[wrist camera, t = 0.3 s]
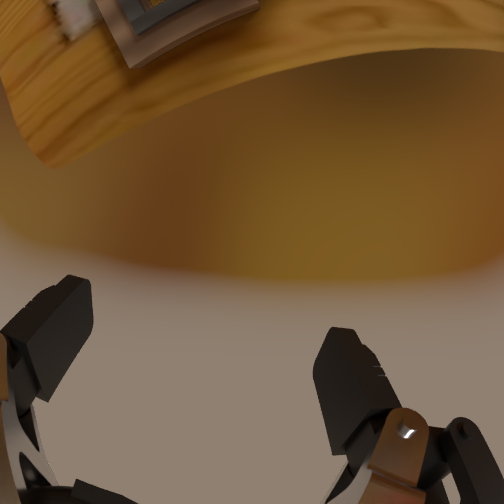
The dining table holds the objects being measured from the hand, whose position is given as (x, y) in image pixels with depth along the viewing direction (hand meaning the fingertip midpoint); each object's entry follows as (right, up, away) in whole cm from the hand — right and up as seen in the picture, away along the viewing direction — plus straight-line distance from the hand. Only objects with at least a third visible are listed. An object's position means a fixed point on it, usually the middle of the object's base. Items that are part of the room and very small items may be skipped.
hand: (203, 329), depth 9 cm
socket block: (-8, +33, +13) cm, 37 cm away
